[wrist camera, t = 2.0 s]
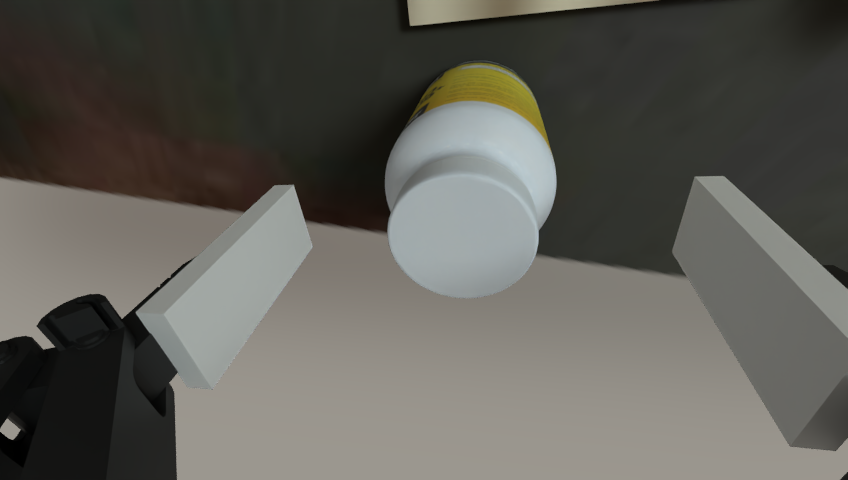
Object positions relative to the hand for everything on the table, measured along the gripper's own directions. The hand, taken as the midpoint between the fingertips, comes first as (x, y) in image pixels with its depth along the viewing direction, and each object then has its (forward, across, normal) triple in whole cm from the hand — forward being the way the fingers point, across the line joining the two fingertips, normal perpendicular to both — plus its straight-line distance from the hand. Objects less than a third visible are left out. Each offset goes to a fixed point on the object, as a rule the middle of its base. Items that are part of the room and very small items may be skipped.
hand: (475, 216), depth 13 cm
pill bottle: (+10, 0, 0) cm, 10 cm away
